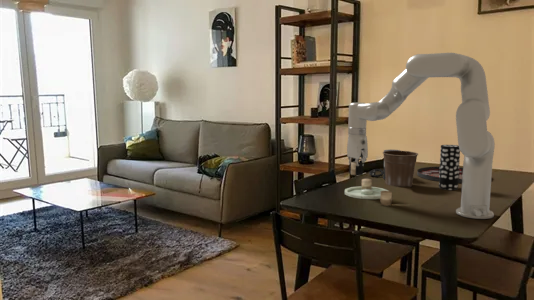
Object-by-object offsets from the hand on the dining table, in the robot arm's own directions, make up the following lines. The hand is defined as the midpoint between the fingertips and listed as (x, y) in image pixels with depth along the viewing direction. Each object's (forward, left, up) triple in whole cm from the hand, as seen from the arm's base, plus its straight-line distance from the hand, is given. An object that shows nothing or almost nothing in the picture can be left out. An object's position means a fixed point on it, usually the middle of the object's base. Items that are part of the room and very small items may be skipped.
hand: (355, 173), depth 186 cm
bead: (+8, -5, -9) cm, 13 cm away
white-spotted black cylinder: (+24, -43, -11) cm, 50 cm away
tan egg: (0, 0, 0) cm, 0 cm away
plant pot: (+26, -21, -11) cm, 35 cm away
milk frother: (+45, -16, -11) cm, 48 cm away
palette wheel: (+54, -51, -11) cm, 75 cm away
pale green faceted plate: (+3, -5, -10) cm, 12 cm away
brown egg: (-10, -12, -10) cm, 19 cm away
